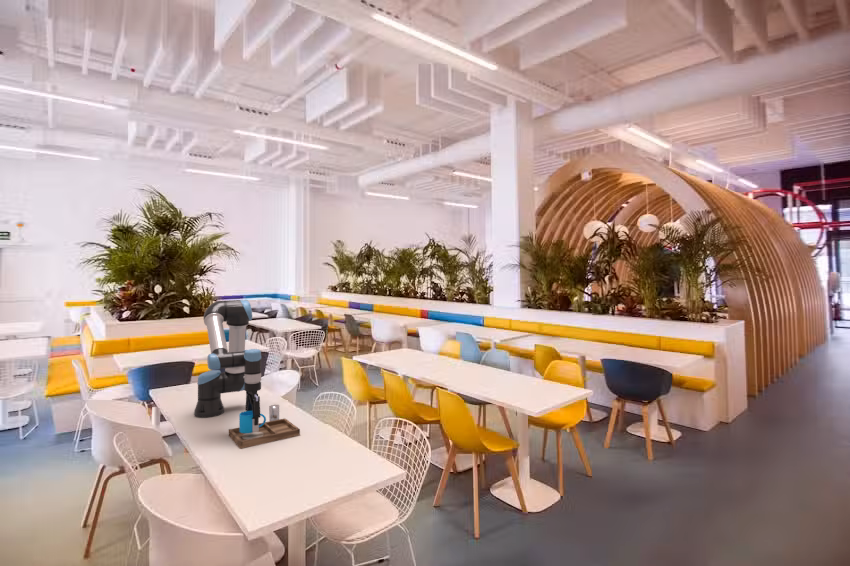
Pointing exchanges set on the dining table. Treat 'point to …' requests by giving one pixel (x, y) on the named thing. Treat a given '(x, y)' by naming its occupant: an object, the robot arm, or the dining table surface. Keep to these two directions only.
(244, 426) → the mug
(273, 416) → the clear rounded cylinder
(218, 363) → the robot arm
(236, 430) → the tray
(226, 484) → the dining table surface
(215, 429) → the dining table surface
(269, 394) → the dining table surface
